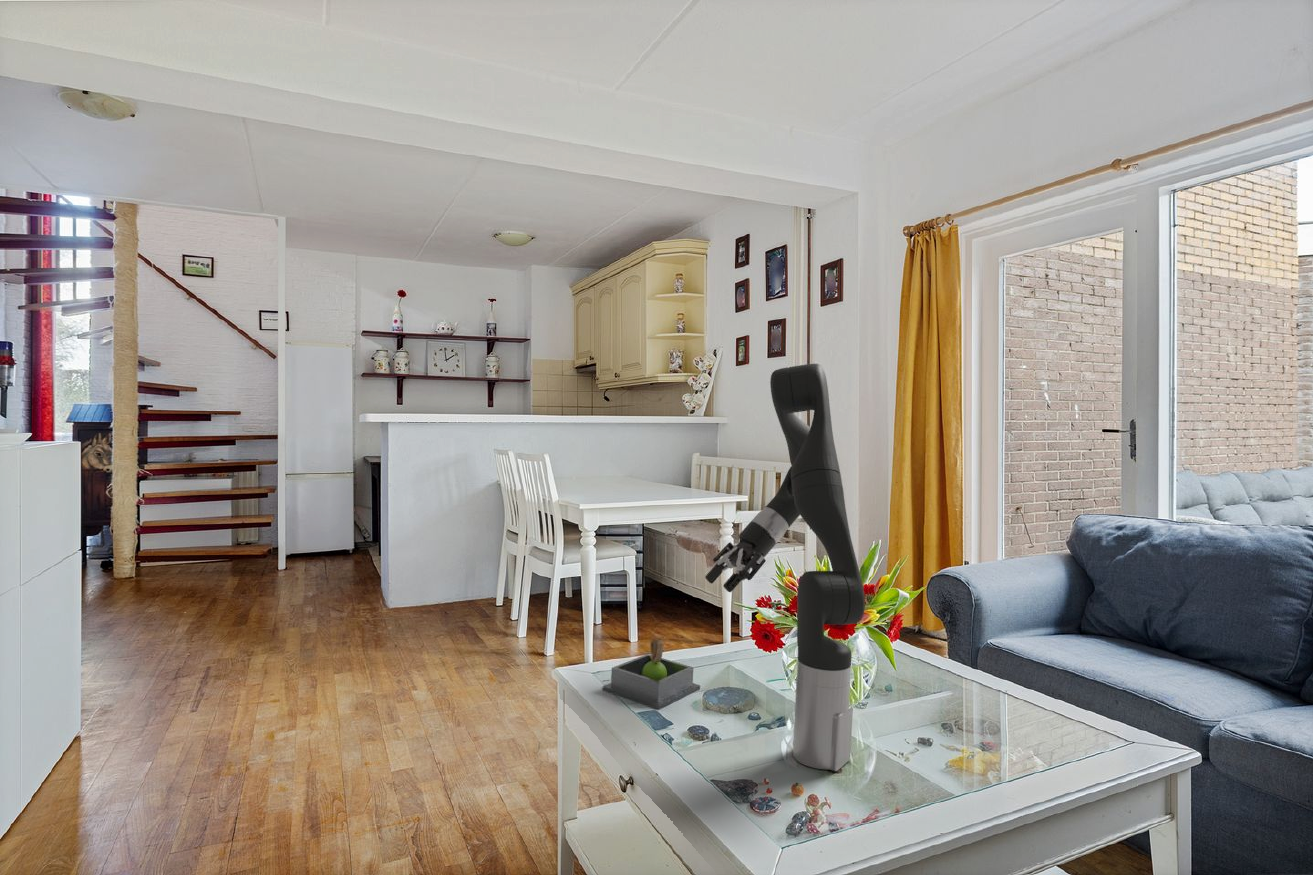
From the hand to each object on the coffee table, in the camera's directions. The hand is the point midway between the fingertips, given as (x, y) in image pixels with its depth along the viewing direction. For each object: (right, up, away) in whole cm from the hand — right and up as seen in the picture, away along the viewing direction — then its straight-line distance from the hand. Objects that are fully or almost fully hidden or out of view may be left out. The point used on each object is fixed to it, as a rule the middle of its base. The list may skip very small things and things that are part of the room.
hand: (717, 585), depth 163 cm
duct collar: (-14, -22, -3) cm, 26 cm away
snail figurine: (-14, -21, -4) cm, 26 cm away
